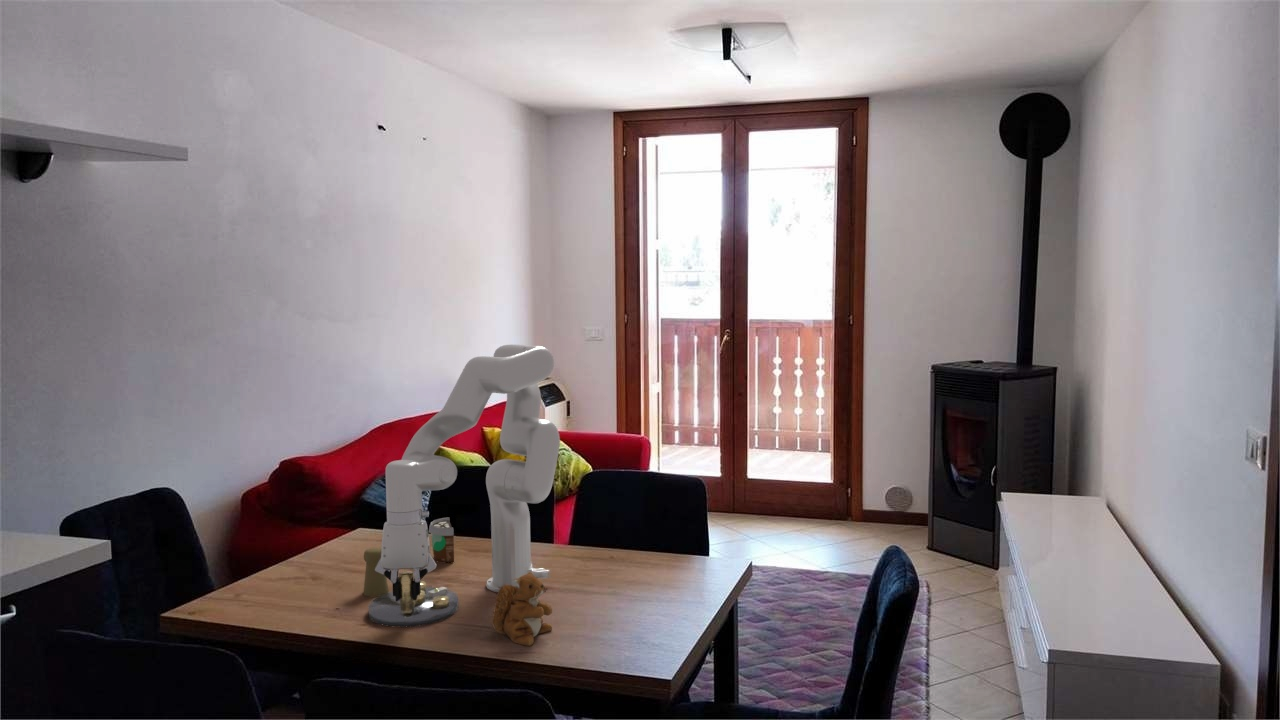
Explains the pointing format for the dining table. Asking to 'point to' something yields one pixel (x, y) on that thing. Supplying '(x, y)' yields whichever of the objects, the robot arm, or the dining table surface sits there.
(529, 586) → the stuffed squirrel
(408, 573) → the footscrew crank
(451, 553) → the food container
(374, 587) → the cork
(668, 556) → the dining table surface
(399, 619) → the base
